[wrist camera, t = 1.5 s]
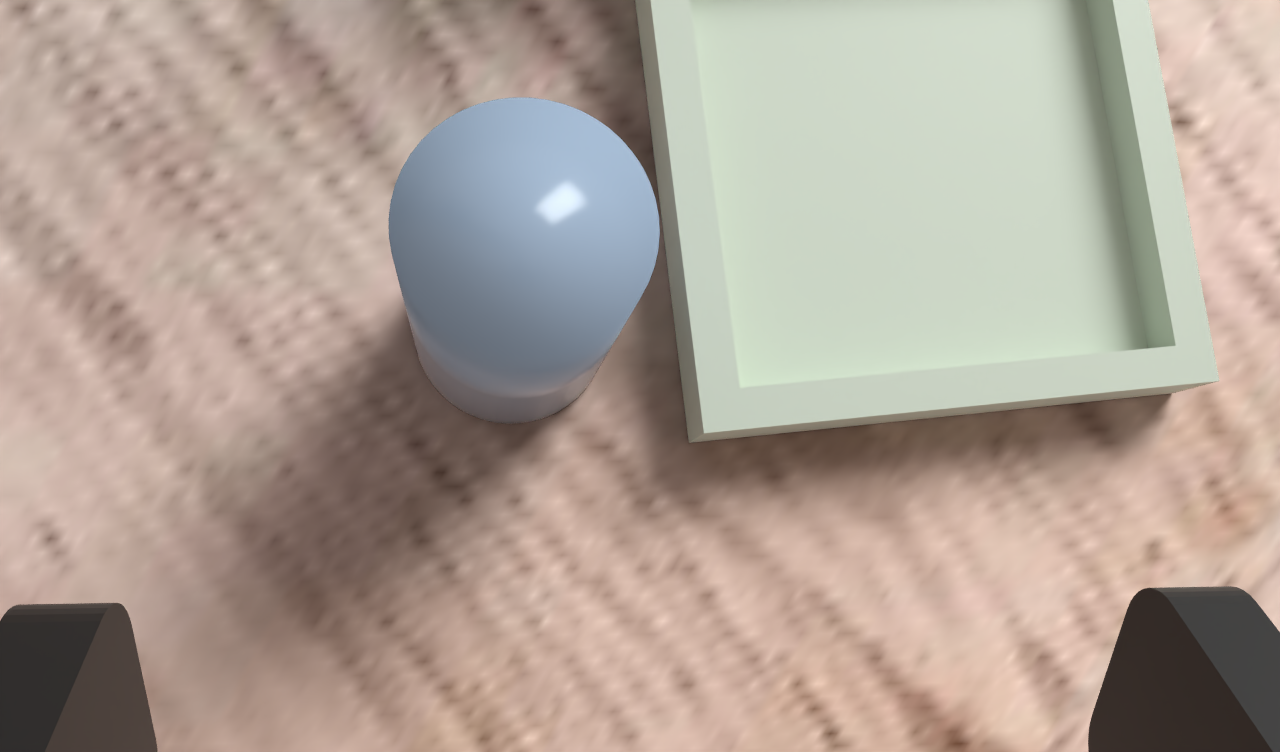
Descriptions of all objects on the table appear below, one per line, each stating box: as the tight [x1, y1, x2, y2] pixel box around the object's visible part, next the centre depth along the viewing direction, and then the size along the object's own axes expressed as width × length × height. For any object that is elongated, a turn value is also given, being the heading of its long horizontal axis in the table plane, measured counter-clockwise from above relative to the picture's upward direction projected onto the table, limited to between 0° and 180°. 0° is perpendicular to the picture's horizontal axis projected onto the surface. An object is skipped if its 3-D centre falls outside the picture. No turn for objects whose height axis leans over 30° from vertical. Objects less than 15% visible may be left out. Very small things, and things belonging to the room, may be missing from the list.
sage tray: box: [635, 0, 1219, 443], centre depth 38 cm, size 16×16×2 cm
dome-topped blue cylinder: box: [389, 98, 660, 424], centre depth 32 cm, size 6×6×11 cm
